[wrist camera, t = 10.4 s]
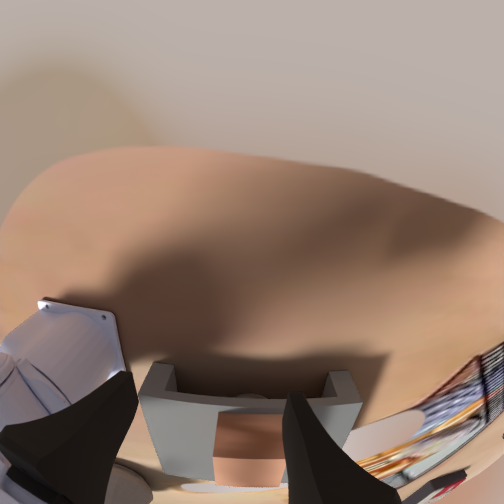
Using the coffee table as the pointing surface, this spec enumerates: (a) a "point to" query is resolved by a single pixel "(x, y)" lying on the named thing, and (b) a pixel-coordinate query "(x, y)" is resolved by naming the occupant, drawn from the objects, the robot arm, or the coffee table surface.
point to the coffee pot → (127, 487)
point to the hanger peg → (248, 449)
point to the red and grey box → (436, 489)
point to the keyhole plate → (207, 407)
